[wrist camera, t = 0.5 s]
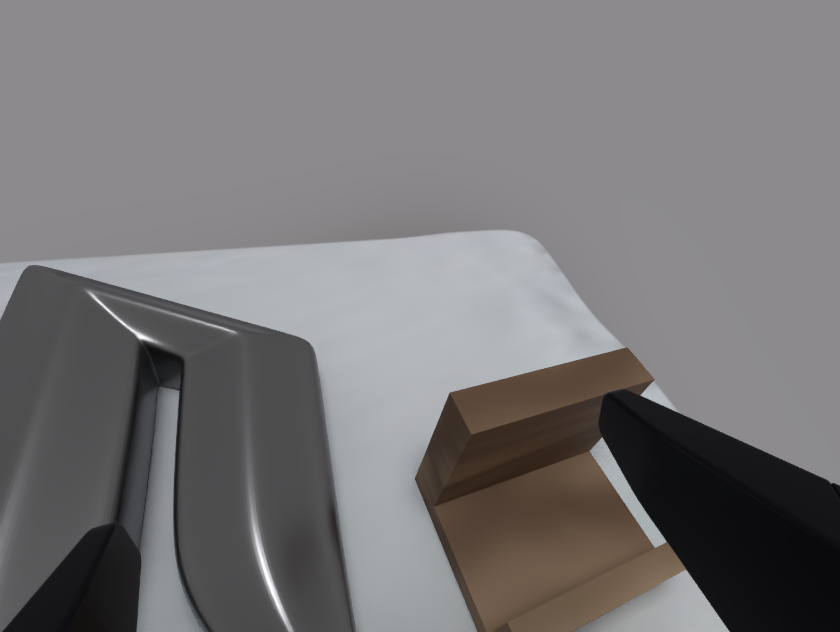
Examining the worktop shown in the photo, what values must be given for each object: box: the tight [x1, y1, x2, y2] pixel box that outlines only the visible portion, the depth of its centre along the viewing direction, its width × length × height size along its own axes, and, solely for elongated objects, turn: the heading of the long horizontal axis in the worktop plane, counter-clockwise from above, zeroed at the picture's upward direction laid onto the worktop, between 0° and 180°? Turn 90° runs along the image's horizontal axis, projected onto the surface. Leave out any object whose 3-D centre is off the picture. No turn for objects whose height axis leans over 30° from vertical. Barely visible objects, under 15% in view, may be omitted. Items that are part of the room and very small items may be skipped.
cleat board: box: [415, 348, 686, 632], centre depth 21 cm, size 9×10×8 cm
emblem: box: [0, 265, 356, 632], centre depth 18 cm, size 28×5×28 cm
